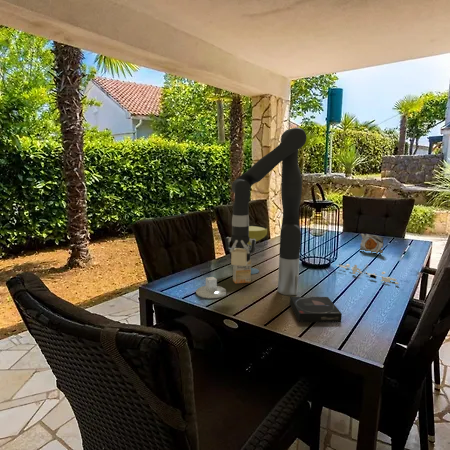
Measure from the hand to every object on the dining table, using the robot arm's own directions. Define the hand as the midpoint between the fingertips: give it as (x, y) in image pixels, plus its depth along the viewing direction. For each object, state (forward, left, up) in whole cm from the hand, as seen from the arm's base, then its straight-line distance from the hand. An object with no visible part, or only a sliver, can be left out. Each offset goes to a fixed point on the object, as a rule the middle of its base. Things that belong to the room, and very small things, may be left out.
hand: (240, 260), depth 154 cm
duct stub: (+13, +2, -17) cm, 21 cm away
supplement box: (+3, -17, -17) cm, 24 cm away
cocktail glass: (+3, -35, -17) cm, 39 cm away
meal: (-67, -99, -17) cm, 121 cm away
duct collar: (0, 0, -1) cm, 1 cm away
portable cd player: (-34, +8, -17) cm, 39 cm away
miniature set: (-60, -49, -17) cm, 80 cm away
